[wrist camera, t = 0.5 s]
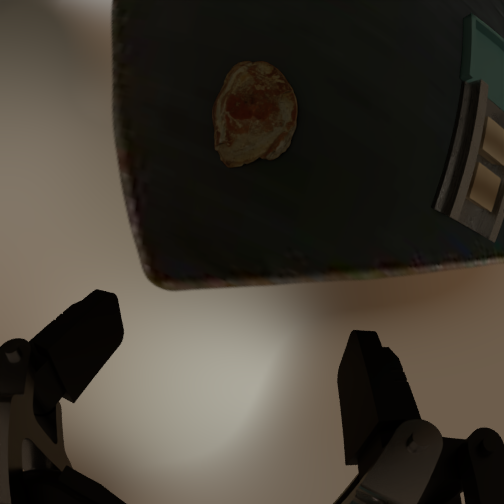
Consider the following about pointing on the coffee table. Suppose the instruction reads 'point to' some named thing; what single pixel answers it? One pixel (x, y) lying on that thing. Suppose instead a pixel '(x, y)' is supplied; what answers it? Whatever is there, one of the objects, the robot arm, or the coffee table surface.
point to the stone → (253, 114)
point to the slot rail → (470, 163)
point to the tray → (483, 57)
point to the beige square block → (483, 187)
